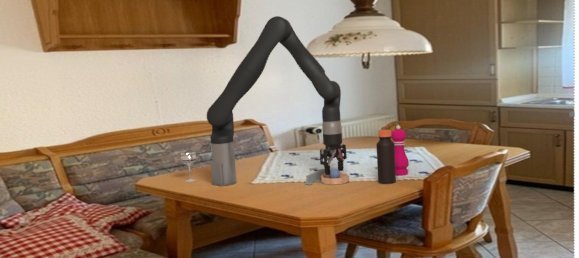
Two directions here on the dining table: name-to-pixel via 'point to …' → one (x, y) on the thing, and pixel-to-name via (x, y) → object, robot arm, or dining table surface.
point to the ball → (334, 173)
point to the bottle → (386, 158)
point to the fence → (314, 177)
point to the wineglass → (188, 161)
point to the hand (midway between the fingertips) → (334, 172)
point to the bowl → (335, 179)
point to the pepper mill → (400, 151)
